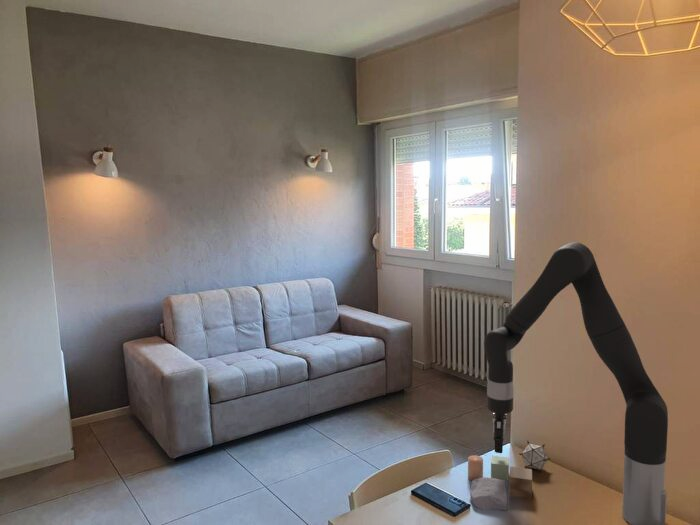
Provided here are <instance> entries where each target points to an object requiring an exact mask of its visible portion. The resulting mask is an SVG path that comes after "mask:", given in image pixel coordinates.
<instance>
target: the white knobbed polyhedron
mask: <svg viewBox="0 0 700 525" xmlns="http://www.w3.org/2000/svg"><path fill="white" fill-rule="evenodd" d="M545 446H546V444H545V443H544V444H543V445H539V444H534V443H530V441H528V440H527V444H526V446H525V448H524V449H523V450H522V452H519V453H518V455H519V456H521V458H522V460H523V462H524V465H525V466H524V468H525V469H535V470H538V471H539V472H540V473H543V470H542V469H544V466H545V465H546V464H547V461H550V460H551V458H550V457H548V455H547V451H546V450H545Z"/></svg>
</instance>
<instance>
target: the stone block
mask: <svg viewBox="0 0 700 525" xmlns="http://www.w3.org/2000/svg"><path fill="white" fill-rule="evenodd" d="M469 491H470V492H469V495H470V500H471V502H472V503H473V505H474V507H475V508H477V509H481V510H486V511H487V510H488V511H489V510H494V511H507V509H508V496H507V495H508V494H507V488H506V481H505V480H500V479H495V478H491V477H486V476H485V477H484V476H483V478H477V479H475V480H474V481H471V487H470V490H469Z"/></svg>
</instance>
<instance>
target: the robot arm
mask: <svg viewBox="0 0 700 525" xmlns="http://www.w3.org/2000/svg"><path fill="white" fill-rule="evenodd" d="M600 273H601V272H600V271H599V267H598V265H597V261H596V259H595V257H594V254H593V253H592V251H591V250H590V248H589V247H587V246H586V245H585V244H583V243H582V242H575V241H574V242H573V241H572V242H569V243H566V244H565V245H563V246H561V247H559V248H557V249H555V251H553V254H552V255H551V257H550V258H549V260H548V261H547V264H546V266H545V267H544V269H542V272H541V273H540V275H539V277H538V278H537V279H536V281H535V282H534V284H533V285H532V286H531V287H530V288H529V289H528V291H527V292H525V294H523V296H522V297H521V298H520V299H519V301H517V302H516V303H515V305H514V306H513V307H512V308H511V310H509V312H508V313H507V314H506V316H505V320H504V321H505V322H504V323H503V324H502V325H501V326H500V327H498V328H495V329H492V330H490V331H489V332H488V333H487V334H486V336H485V338H484V344H483V345H484V346H483V347H484V353H485V357H486V361H487V364H488V370H487V371H488V372H487V375H488V376H487V378H488V379H487V383H486V384H487V386H486V408H487V410H488V411H490V412H492V423H493V425H492V432H493V441H494V453H496V454H503V451H504V450H503V448H504V446H503V445H504V440H505V439H504V437H505V436H504V434H506V424H507V418H508V416H507V415H508V414H510V413H511V412H513V410H514V388H515V387H514V365H513V362H512V361H511V360H510V359H508V357H507V352H509V351H512V349H514V348H516V346H518V344H519V343H520V342H521V340H522V339H523V337H524V336H525V334H526V332H527V331H528V330H530V328H531V327H532V326H533V325H534V324H535V323H536V322H537V321H538V320H539V318H540V317H541V316H542V315H543V313H544V312H545V310H546V309H547V307H548V306H549V305H550V303H551V302H552V300H554V298H555V297H556V296H557V295H558V294H559V293H560V292H562V291H563V290H564V289H565V288H567V287H568V286H569V285H570V284H572V286H573V288H574V290H575V292H576V294H577V297H578V299H579V303H580V304H579V305H580V309H581V315H582V320H583V324H584V329H585V332H586V334H587V336H588V338H589V339H590V342H591V345H592V346H593V348H594V350H595V351H596V353H597V356H598V357H599V358H600V360H601V361H602V362H603V364H604V365H605V366H606V367H607V369H608V370H609V371H610V372H611V374H613V376H614V377H615V379H616V381H617V384H618V386H619V388H620V391H621V393H622V396H623V398H624V401H625V406H626V407H625V412H624V413H625V414H624V439H623V440H624V442H623V443H624V444H623V445H624V456H623V480H622V481H623V483H622V484H623V486H622V488H623V489H622V506H621V507H622V508H621V509H622V510H621V511H622V512H621V514H622V517H623V519H624V520H625V521H626V522H627V523H628V524H630V525H666V519H667V517H666V516H667V496H668V495H667V491H666V489H665V486H666V485H665V482H666V481H665V480H666V461H667V446H668V429H669V428H668V427H669V425H668V424H669V420H668V419H669V417H668V416H669V413H668V412H669V411H668V407H667V404H666V402H665V400H664V399H663V397H662V395H661V394H660V393H659V391H658V389H657V388H656V386H655V385H654V383H653V382H652V380H651V378H650V377H649V375H648V373H647V371H646V370H645V367H644V365H643V363H642V359H641V357H640V355H639V352H638V349H637V347H636V345H635V342H634V340H633V337H632V336H631V333H630V332H629V329H628V327H627V325H626V323H625V321H624V320H623V318H622V316H621V315H620V312H619V309H618V308H617V306H616V304H615V302H614V300H613V298H612V297H611V294H610V293H609V292H608V289H607V288H606V286H605V284H604V280H603V279H602V276H601V274H600Z"/></svg>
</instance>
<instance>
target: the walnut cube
mask: <svg viewBox="0 0 700 525" xmlns="http://www.w3.org/2000/svg"><path fill="white" fill-rule="evenodd" d="M532 469H533V468H525V467H516V466H515V467H514V466H509V479H508V482H509V488H508V489H509V491H508V492H509V494H508V495H509V496H508V497H509V498H514V497H515V498H516V499H521V500H530V501H533V470H532ZM515 498H514V499H515Z"/></svg>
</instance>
